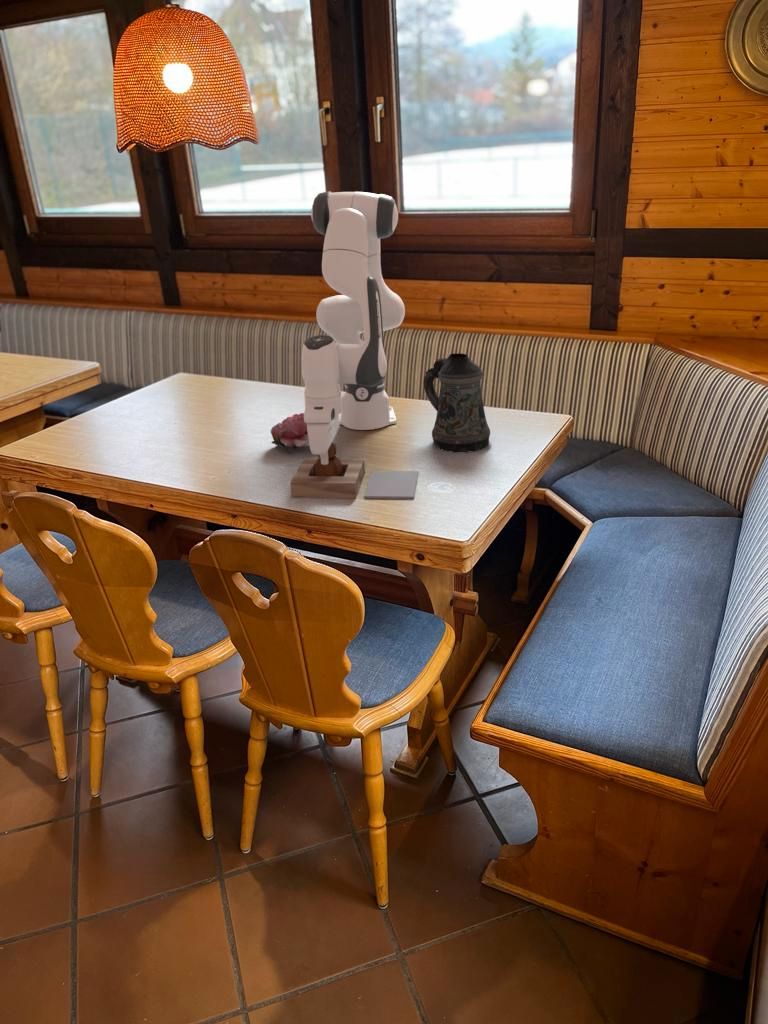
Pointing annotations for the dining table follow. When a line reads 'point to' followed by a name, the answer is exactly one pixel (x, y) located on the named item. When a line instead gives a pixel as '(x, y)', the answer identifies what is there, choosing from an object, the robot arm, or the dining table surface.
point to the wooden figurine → (329, 464)
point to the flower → (291, 432)
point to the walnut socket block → (328, 480)
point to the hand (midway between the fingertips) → (327, 458)
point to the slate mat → (392, 485)
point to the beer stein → (457, 404)
